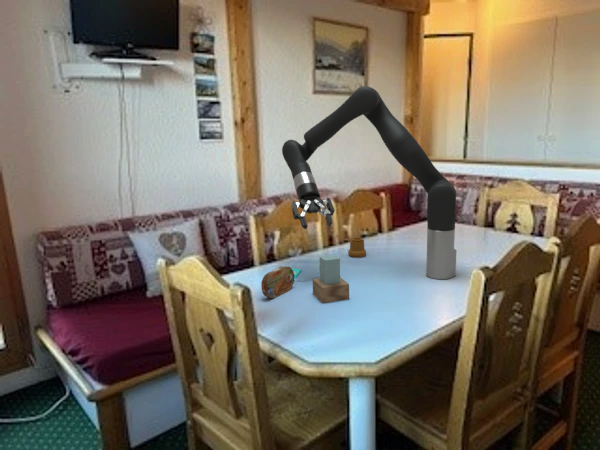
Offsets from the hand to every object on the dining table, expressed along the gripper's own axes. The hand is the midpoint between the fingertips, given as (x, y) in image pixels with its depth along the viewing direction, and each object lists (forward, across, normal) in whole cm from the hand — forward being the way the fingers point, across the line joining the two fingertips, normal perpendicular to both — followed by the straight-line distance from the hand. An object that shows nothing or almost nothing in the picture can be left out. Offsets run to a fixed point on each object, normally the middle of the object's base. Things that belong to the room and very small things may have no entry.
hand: (318, 226), depth 159 cm
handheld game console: (+6, -10, +24) cm, 27 cm away
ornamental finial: (-4, +26, +34) cm, 43 cm away
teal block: (+19, -1, +2) cm, 19 cm away
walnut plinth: (+23, -1, +6) cm, 24 cm away
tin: (+17, -16, +12) cm, 26 cm away
